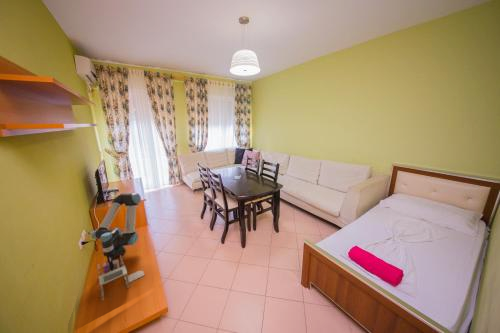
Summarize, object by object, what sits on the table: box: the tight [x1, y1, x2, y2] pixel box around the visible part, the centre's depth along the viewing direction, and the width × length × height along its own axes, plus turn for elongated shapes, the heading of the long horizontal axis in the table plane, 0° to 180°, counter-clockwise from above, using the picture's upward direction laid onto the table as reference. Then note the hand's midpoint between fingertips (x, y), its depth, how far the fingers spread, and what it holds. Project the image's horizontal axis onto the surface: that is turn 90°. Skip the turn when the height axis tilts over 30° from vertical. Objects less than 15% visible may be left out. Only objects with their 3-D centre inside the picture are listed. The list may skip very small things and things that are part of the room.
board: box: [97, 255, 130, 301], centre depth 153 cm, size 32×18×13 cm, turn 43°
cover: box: [98, 265, 128, 287], centre depth 144 cm, size 11×18×5 cm, turn 133°
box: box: [102, 259, 121, 274], centre depth 161 cm, size 10×6×12 cm, turn 118°
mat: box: [128, 270, 145, 284], centre depth 160 cm, size 9×12×1 cm
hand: (112, 272), depth 161 cm, fingers closed on box, 7 cm apart
